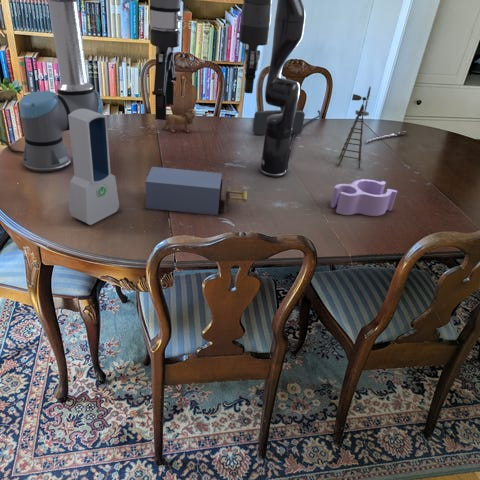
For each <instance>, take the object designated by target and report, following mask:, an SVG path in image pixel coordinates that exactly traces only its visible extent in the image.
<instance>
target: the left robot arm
mask: <svg viewBox="0 0 480 480" xmlns="http://www.w3.org/2000/svg"><path fill="white" fill-rule="evenodd" d="M46 1H47V3H48V11H49V16H50V17H49V18H50V22H51V23H50V24H51V29H52V34H53V35H52V36H53V43H54V48H55V53H56V55H55V56H56V60H57V66H58V73H59V79H60V83H59V84H58V85H57V87H56V90H57V91H56V92H57V94H56V92H54V91H51V90H42V91H41V90H37V91H32V92H30V93H26V94H24V96H22V97H21V99H20V100H19V103H18V104H19V116H20V120H21V126H22V132H23V136H24V148H23V150H19V149H18V150H17V149H14V148H11V146H10V144H9V142H7V141H6V140H4V139H1V138H0V142H1V143H4V144H5V145H6V147H7V149H8V150H9V151H11V152H13V153H16V154H17V153H18V154H22V158H21V159H22V160H21V161H22V166H23V168H24V169H25V170H27V171H29V172H33V173H39V174H46V173H56V172H61V171H63V170H66V169H67V168H69V167H70V166H71V163H72V159H71V155H70V153H69V151H68V150H67V149H68V148H67V147H66V145H65V143H64V140H63V132H66V131H67V132H68V131H70V128H69V119H68V115H69V114H70V113H71V112H73V111H75V110H77V109H88V110H91V111H94V112H97V113H100V114H103V113H104V103H103V99H102V98H101V95H100V93H99V91H97V90H96V89H95V88H94V85H93V84H91V83H90V82H89V79H88V71H87V63H86V57H85V49H84V42H83V41H84V40H83V34H82V26H81V20H80V12H79V5H78V4H79V3H78V1H79V0H46ZM180 14H181V0H149V26H150V27H151V28H150V29H149V43H150V45H152V46H154V47H158V51H157V52H156V53H155V67H154V68H155V70H154V84H153V90H152V91H151V95H152V96H154V97H155V98H154V99H155V101H154V102H155V103H154V104H155V106H154V107H155V120H160V121H166V118H167V105H168V106H174V102H175V101H174V100H175V82H177V79H178V78H177V76H176V70H175V54H174V49H175V48H178V47H179V46H180V44H181V31H180V30H179V29H180V28H181V21H182V20H183V16H182V15H180ZM103 115H104V114H103Z"/></svg>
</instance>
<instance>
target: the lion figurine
mask: <svg viewBox="0 0 480 480" xmlns="http://www.w3.org/2000/svg"><path fill="white" fill-rule="evenodd" d="M196 119H197V110H195V109H194V108H190V109H188V110H187V111H186V112H184V113H183V114H182V115H175V114H169V115H168V116H166V120H164V126H163V128H161V130H162V131H164V130H170V131H171V132H172V133H175V129H173V127H174V125H175V124H176V125H179V126H183V130H184V131H185V132H186V133H189V132H190V130H189V128H190V127H189V126H190V125H193V123H194V122H195V121H196ZM168 126H169V127H168Z"/></svg>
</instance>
